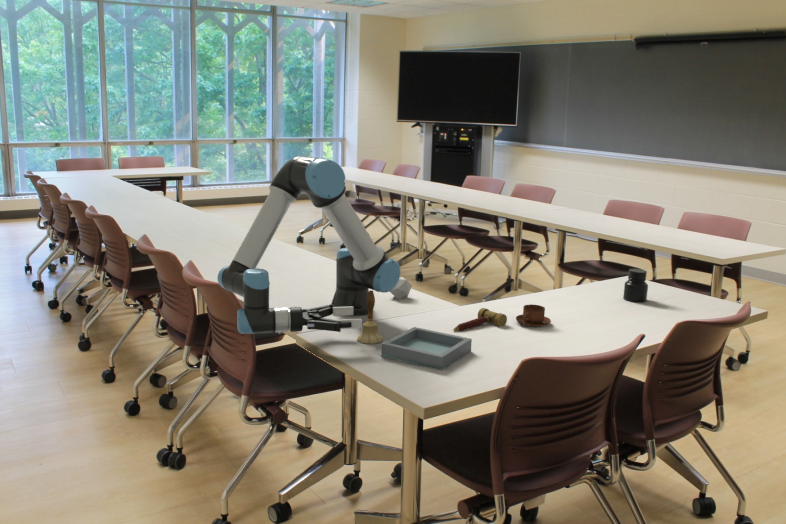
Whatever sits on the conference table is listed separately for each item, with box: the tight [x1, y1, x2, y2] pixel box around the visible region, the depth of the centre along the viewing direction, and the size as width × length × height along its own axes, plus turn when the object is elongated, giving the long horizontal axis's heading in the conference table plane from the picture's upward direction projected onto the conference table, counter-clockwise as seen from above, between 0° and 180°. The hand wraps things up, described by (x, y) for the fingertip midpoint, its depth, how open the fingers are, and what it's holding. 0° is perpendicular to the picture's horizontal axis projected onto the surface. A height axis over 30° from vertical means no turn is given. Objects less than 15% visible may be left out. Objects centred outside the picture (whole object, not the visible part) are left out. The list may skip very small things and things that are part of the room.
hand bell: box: [356, 290, 384, 345], centre depth 222 cm, size 8×8×16 cm
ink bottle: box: [622, 268, 649, 303], centre depth 282 cm, size 10×9×12 cm
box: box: [380, 326, 472, 372], centre depth 213 cm, size 20×20×4 cm
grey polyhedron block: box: [388, 276, 413, 300], centre depth 274 cm, size 8×9×10 cm
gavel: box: [452, 307, 508, 332], centre depth 241 cm, size 21×5×10 cm
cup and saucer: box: [515, 304, 552, 328], centre depth 246 cm, size 12×12×6 cm
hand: (357, 316), depth 221 cm, fingers open, 13 cm apart
